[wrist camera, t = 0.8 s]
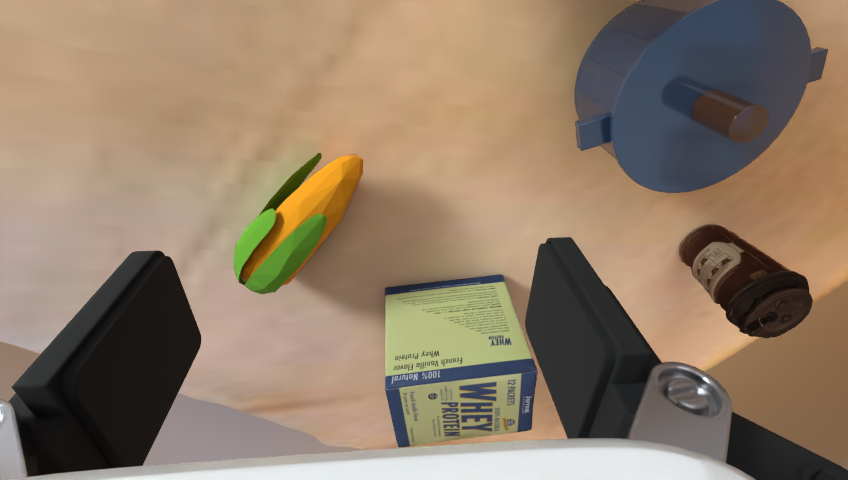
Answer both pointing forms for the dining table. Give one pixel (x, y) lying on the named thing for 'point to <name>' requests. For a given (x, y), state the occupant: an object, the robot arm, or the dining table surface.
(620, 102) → the pot lid
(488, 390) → the protein box
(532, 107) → the dining table surface
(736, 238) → the coffee cup
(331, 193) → the corn
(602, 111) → the pot
